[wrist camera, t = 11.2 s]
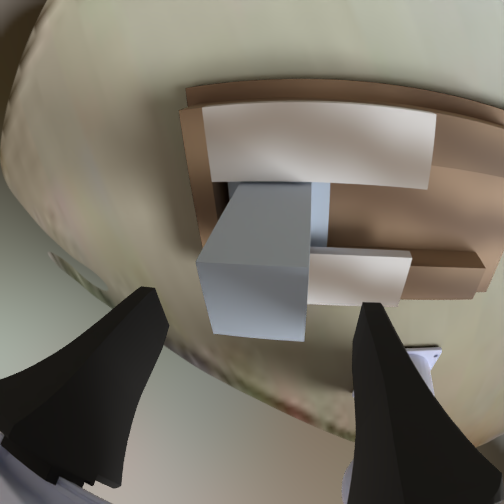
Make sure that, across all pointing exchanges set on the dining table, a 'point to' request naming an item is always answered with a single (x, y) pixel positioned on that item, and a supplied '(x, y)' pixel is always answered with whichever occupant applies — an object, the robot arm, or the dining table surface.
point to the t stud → (263, 258)
